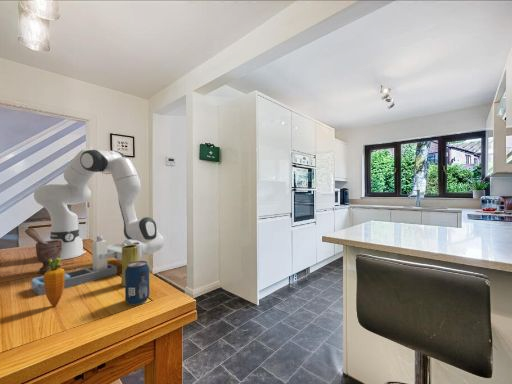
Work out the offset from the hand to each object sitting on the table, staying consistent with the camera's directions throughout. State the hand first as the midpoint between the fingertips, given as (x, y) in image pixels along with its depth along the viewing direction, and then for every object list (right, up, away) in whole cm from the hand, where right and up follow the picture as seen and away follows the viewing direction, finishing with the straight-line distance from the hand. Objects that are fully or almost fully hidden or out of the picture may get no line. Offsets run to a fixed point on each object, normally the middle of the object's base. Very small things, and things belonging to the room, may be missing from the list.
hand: (97, 255), depth 97 cm
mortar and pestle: (-26, -9, +4) cm, 28 cm away
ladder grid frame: (-4, -8, -6) cm, 11 cm away
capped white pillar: (0, -8, +1) cm, 8 cm away
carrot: (+4, -9, -26) cm, 28 cm away
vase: (+18, -8, -9) cm, 22 cm away
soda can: (+28, -9, -23) cm, 37 cm away
